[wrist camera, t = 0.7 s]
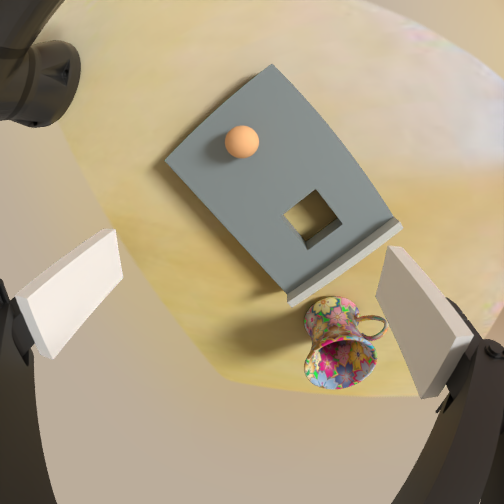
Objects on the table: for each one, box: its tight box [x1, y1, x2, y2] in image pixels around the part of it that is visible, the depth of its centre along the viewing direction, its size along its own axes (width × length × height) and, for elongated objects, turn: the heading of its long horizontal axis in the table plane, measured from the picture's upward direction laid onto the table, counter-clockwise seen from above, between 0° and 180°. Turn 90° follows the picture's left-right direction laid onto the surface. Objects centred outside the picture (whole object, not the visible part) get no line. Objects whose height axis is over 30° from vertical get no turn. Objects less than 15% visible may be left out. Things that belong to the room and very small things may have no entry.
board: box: [164, 64, 403, 307], centre depth 32 cm, size 24×17×5 cm
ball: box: [225, 126, 259, 158], centre depth 29 cm, size 4×4×4 cm
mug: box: [304, 297, 388, 389], centre depth 36 cm, size 12×9×11 cm
